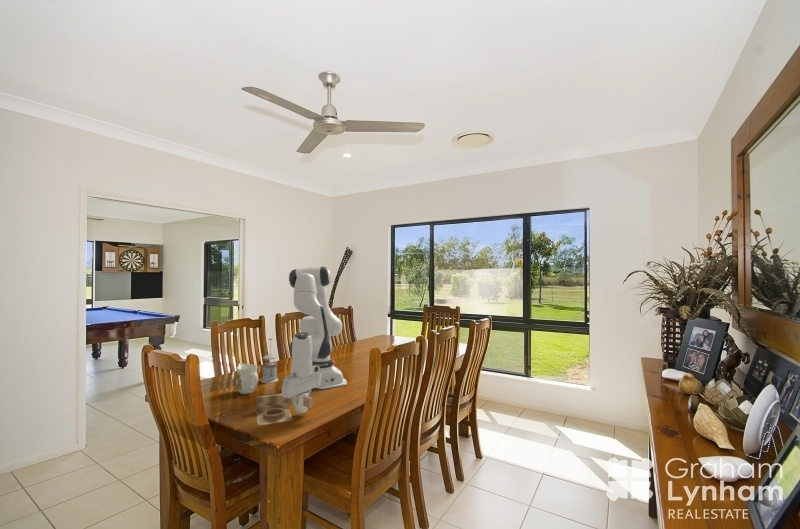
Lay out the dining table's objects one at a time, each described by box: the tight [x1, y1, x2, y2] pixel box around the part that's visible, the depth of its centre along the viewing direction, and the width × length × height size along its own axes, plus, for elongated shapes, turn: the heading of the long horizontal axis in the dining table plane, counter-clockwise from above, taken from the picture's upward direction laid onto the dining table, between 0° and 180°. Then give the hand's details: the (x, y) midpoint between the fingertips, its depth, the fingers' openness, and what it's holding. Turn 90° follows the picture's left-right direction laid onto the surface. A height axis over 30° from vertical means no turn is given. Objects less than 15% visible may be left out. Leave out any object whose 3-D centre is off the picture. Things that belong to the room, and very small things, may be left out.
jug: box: [293, 391, 313, 414], centre depth 154 cm, size 10×6×8 cm, turn 50°
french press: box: [260, 337, 279, 384], centre depth 208 cm, size 10×12×25 cm
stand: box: [256, 393, 293, 427], centre depth 154 cm, size 14×16×8 cm
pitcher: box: [235, 362, 259, 395], centre depth 188 cm, size 11×18×14 cm, turn 51°
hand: (300, 402), depth 155 cm, fingers closed on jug, 6 cm apart
